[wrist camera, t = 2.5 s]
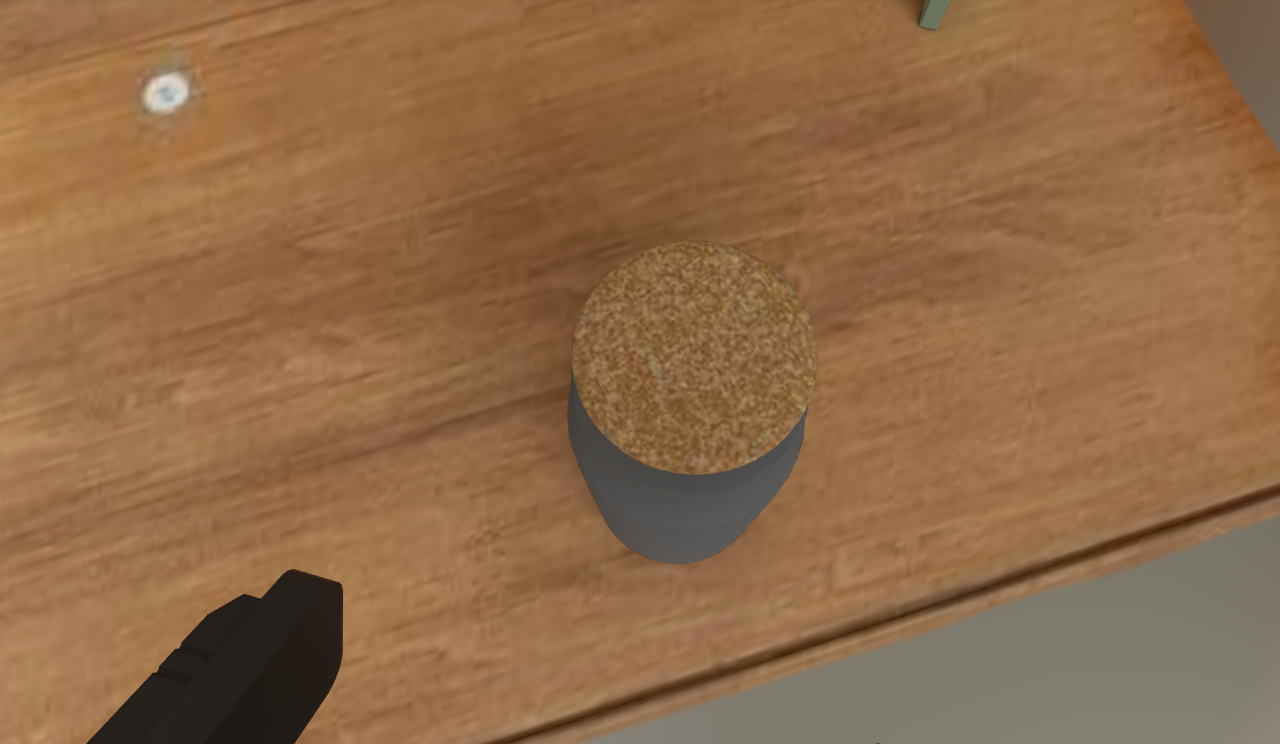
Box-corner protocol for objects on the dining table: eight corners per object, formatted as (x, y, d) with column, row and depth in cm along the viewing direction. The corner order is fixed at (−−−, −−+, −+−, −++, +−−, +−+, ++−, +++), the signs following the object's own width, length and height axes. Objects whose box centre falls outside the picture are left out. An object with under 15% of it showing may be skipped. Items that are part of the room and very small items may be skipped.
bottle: (779, 537, 29) (895, 451, 15) (620, 586, 29) (586, 543, 15) (727, 386, 31) (788, 179, 17) (577, 430, 31) (508, 256, 16)
